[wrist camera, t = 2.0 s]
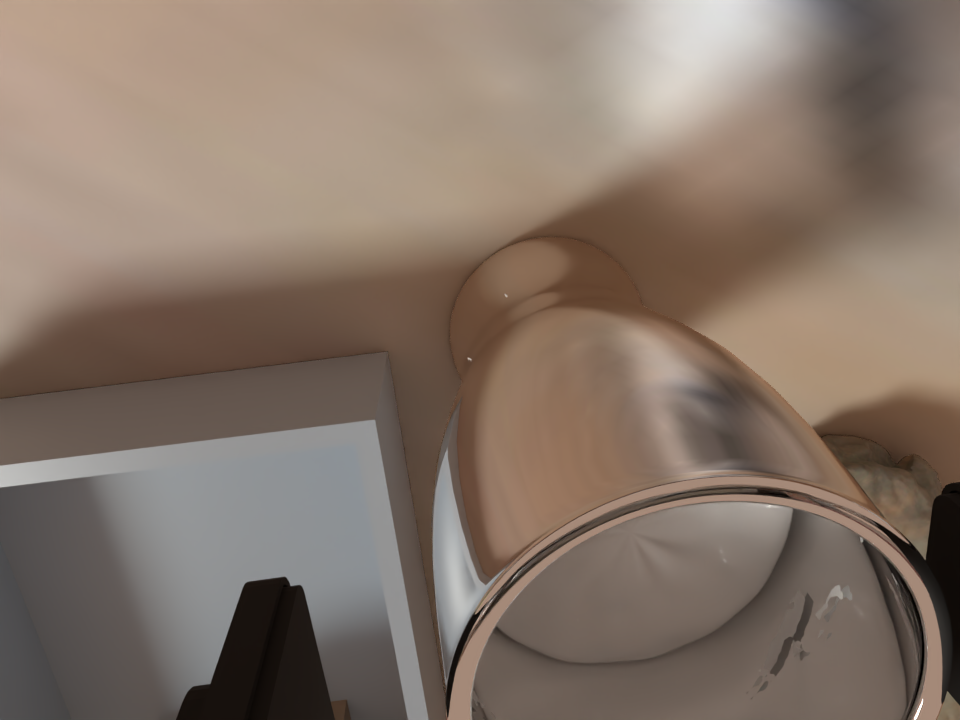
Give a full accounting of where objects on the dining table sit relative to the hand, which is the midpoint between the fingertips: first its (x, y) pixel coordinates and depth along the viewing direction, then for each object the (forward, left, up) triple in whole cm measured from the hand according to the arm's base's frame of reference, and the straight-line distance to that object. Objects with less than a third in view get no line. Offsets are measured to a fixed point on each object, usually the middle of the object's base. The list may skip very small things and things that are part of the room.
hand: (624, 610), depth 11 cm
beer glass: (-1, 0, -14) cm, 14 cm away
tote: (+11, +11, -13) cm, 21 cm away
